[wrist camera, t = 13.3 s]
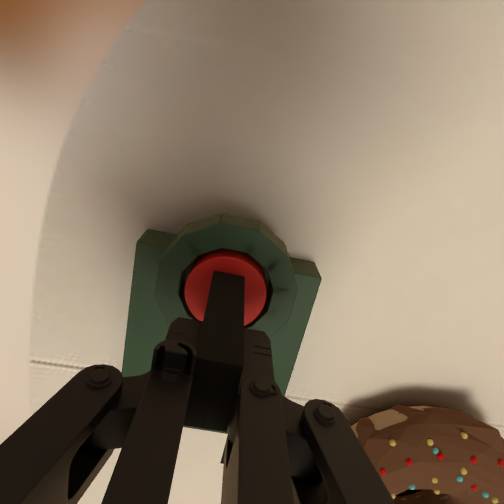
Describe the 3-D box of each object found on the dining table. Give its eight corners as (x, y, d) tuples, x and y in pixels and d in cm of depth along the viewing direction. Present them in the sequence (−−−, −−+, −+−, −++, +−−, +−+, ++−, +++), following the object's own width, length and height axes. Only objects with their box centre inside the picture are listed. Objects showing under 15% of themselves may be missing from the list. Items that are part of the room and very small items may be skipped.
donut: (405, 541, 31) (432, 617, 27) (275, 477, 28) (280, 550, 24) (538, 437, 27) (599, 506, 22) (403, 350, 24) (440, 407, 20)
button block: (152, 187, 20) (130, 204, 16) (326, 224, 21) (343, 248, 17) (127, 391, 25) (106, 440, 21) (268, 414, 26) (272, 465, 22)
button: (196, 237, 19) (191, 249, 17) (272, 252, 19) (275, 265, 17) (184, 305, 20) (178, 322, 18) (255, 318, 20) (256, 336, 19)
